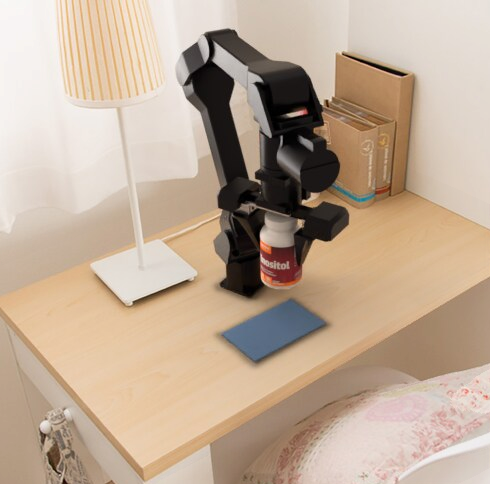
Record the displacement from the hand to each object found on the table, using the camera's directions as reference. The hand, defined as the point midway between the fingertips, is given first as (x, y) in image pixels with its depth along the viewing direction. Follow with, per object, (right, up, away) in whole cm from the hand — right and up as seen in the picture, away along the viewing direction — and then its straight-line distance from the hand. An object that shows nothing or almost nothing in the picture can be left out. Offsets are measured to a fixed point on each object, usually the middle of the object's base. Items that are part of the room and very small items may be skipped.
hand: (281, 258), depth 110 cm
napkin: (-1, -11, +6) cm, 13 cm away
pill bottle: (0, -3, +2) cm, 4 cm away
